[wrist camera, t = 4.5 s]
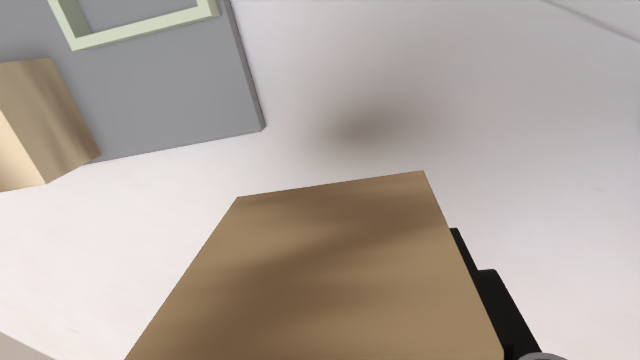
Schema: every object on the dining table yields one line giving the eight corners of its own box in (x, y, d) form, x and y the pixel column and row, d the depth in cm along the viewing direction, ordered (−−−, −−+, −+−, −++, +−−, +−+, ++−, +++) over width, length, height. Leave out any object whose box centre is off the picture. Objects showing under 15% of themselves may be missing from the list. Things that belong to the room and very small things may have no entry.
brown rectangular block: (51, 57, 22) (-27, 66, 17) (102, 154, 24) (46, 184, 20) (-34, 79, 23) (-128, 92, 18) (24, 169, 26) (-45, 200, 21)
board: (167, -215, 16) (154, -232, 15) (265, 126, 24) (261, 131, 23) (-156, -90, 20) (-185, -97, 19) (16, 174, 27) (2, 180, 26)
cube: (422, 170, 10) (503, 351, 4) (435, 315, 12) (497, 547, 7) (237, 197, 11) (118, 368, 5) (282, 325, 13) (231, 531, 8)
